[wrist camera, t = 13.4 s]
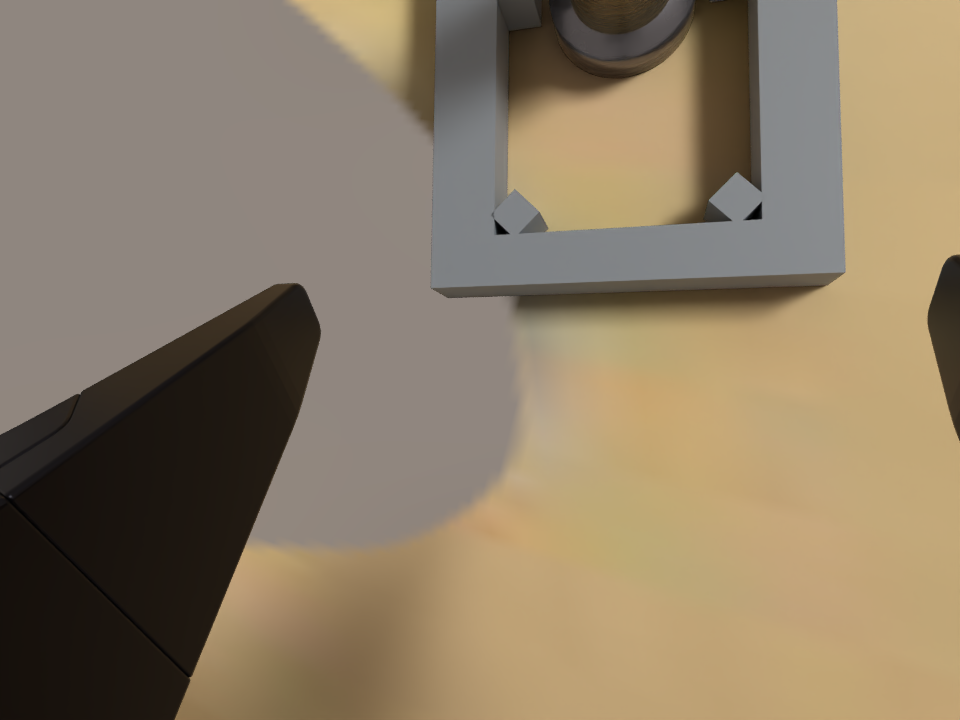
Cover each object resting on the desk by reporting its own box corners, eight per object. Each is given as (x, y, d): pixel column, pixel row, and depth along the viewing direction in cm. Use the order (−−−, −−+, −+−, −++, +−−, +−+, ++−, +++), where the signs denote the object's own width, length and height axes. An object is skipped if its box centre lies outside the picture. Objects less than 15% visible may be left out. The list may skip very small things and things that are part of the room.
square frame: (827, 285, 21) (846, 271, 19) (448, 297, 24) (429, 287, 22) (814, -171, 22) (830, -230, 20) (455, -100, 26) (438, -144, 23)
